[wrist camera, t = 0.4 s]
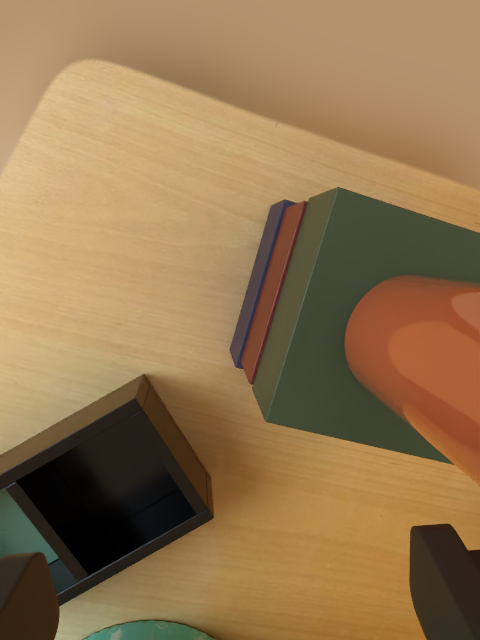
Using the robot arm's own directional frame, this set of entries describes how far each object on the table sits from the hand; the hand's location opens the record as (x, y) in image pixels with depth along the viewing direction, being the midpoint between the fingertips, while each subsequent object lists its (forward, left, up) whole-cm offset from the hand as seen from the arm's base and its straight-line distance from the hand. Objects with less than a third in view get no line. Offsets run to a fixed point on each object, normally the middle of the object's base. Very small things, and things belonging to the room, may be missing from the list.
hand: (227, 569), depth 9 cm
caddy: (+4, -13, -20) cm, 24 cm away
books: (+1, +8, -20) cm, 22 cm away
